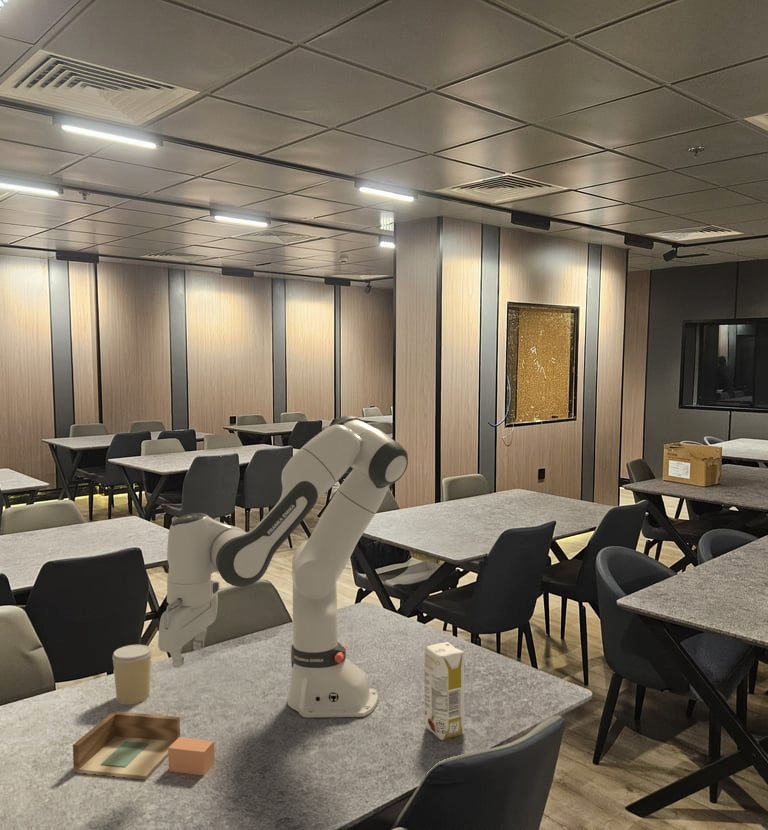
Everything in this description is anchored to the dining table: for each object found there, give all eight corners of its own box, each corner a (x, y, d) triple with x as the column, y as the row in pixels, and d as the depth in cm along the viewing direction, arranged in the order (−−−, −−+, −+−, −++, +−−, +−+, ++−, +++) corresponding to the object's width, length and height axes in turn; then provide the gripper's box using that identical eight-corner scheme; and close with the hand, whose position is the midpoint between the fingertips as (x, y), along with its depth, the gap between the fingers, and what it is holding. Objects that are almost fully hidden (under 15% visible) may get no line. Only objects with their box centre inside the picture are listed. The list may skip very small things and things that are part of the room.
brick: (214, 764, 151) (214, 741, 151) (204, 776, 146) (204, 752, 146) (179, 760, 153) (179, 737, 152) (168, 771, 148) (168, 747, 148)
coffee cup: (160, 692, 185) (159, 646, 184) (136, 708, 176) (135, 660, 176) (130, 687, 188) (128, 642, 188) (105, 702, 179) (104, 655, 179)
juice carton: (440, 743, 158) (440, 658, 157) (420, 726, 166) (420, 645, 165) (469, 735, 162) (469, 652, 161) (448, 719, 170) (448, 639, 169)
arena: (180, 742, 160) (179, 716, 159) (146, 779, 145) (145, 751, 145) (113, 736, 162) (113, 711, 162) (73, 772, 148) (72, 744, 147)
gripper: (180, 608, 140) (179, 679, 140) (222, 580, 160) (222, 641, 160) (150, 606, 141) (149, 676, 141) (196, 578, 161) (195, 639, 161)
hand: (188, 657), depth 151 cm, fingers open, 8 cm apart
